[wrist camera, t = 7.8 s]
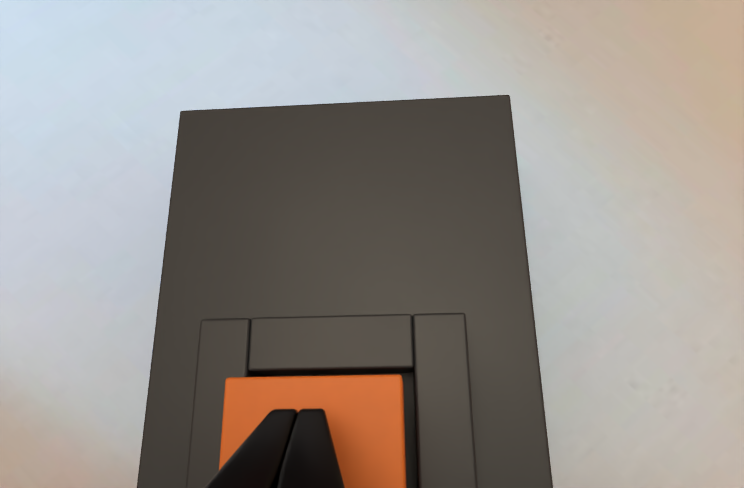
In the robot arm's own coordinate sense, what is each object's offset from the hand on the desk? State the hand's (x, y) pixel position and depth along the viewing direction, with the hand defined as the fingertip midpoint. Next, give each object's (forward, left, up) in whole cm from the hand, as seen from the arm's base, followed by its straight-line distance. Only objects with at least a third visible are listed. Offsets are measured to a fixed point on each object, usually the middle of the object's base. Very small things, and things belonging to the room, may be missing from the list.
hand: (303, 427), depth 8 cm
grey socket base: (+2, +2, -9) cm, 9 cm away
